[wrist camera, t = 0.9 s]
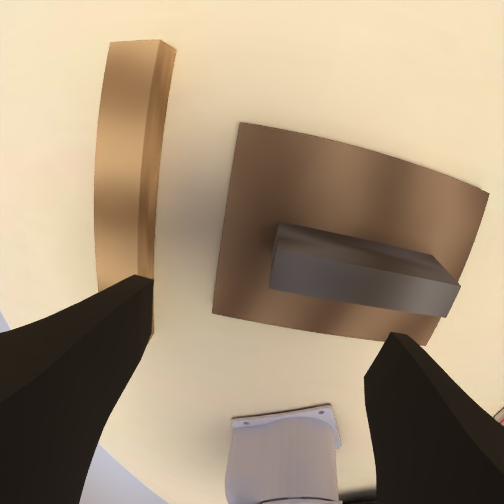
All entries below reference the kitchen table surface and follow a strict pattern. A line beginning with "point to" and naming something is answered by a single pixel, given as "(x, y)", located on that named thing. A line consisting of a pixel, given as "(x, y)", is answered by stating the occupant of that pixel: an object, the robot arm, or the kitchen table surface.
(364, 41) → the kitchen table surface
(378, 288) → the ridge stand
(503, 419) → the pill bottle
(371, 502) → the bowl of black rocks
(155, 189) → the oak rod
